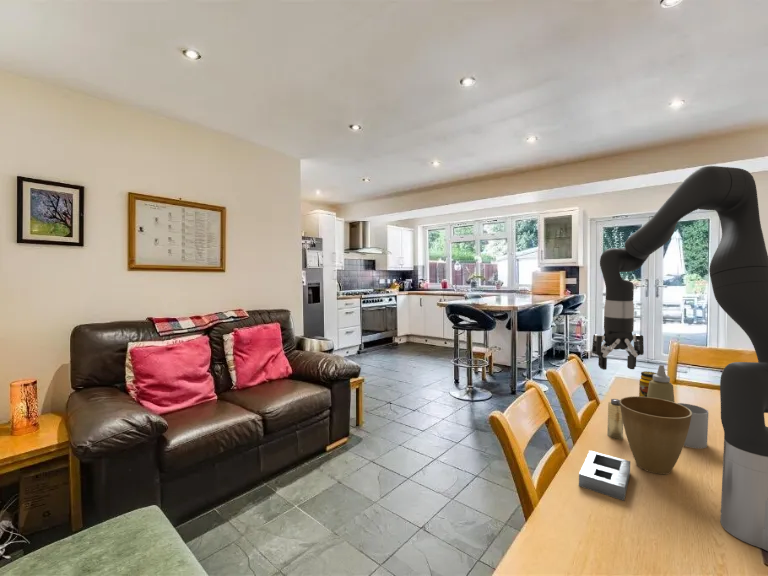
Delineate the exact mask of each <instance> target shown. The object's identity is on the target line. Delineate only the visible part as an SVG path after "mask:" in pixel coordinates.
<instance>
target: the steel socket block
mask: <svg viewBox="0 0 768 576" xmlns="http://www.w3.org/2000/svg"><path fill="white" fill-rule="evenodd" d="M630 475H631V460H627V459H623V458H619V457H616V456H612V455H609V454H605V453H601V452H597V451H593V450H588V453H587V455H586V457H585V460H584V462H583V464H582V466H581V469H580V470H579V473H578V487H581V488H583V489H587V490H590V491H592V492H595V493H598V494H602V495H605V496H608V497H612V498H614V499H618V500H620V501H625V499H626V494H627V490H628V485H629V480H630Z"/></svg>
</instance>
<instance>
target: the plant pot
mask: <svg viewBox="0 0 768 576" xmlns="http://www.w3.org/2000/svg"><path fill="white" fill-rule="evenodd" d="M619 400H620V408H621V414H622V420H623V430H624V432H625V435H626V439H627V442H628V446H629V448H630V452H631V454H632V457H633V458H634V461H635V464H636V465H637V466H638V467H639V468H641V469H643V470H644V471H647V472H650V473H653V474H659V475H668V474H671V472H672V471H673V469H674V467H675V466H676V464H677V462H678V460H679V458H680V456H681V454H682V451H683V448H684V447H685V446H684V443H685V440H686V437H687V434H688V430H689V426H690V422H691V417H692V412H691V410H690V409H688V408H687V407H685V406H683V405H680V404H678V403H679V402H671V401H668V400H663V399H658V398H652V397H640V396H639V395H637V396H636V395H635V396H625V397H623V398H620V399H619Z"/></svg>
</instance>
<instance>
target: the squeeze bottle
mask: <svg viewBox="0 0 768 576" xmlns="http://www.w3.org/2000/svg"><path fill="white" fill-rule="evenodd" d="M656 373H657V374H654V375H653V380H651V381H650V382H649V387H648V393H647V397H652V398H658V399H663V400H668V401H671V402H675V390H674V384H673V383H672V382H670V381H671V380H670V379H671V377H670V376H669V375H667V373H666V369H665V366H664V365H663V364H659V366H658V369H657V372H656ZM675 403H676V402H675Z"/></svg>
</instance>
